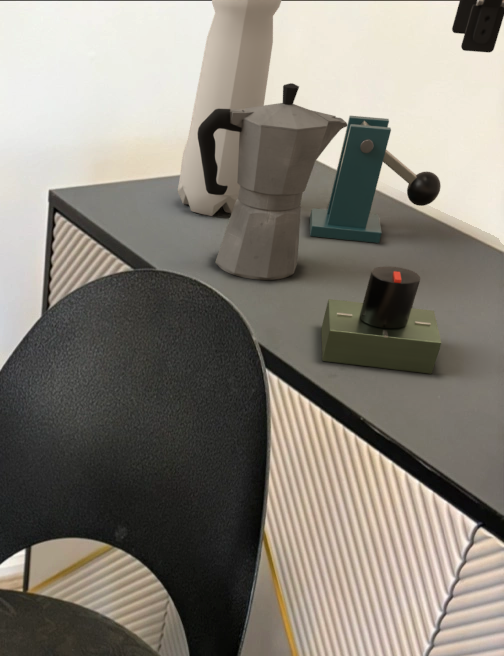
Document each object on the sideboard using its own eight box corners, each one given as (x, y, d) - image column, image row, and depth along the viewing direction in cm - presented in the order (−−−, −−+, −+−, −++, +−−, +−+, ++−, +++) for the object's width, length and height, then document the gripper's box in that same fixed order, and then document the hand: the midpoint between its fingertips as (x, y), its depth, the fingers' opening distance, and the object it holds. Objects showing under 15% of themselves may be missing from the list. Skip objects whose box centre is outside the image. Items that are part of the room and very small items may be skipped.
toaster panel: (424, 339, 109) (434, 307, 107) (431, 375, 103) (442, 342, 101) (321, 327, 111) (328, 296, 109) (322, 362, 105) (330, 329, 103)
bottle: (260, 217, 137) (318, -82, 117) (191, 220, 135) (238, -83, 115) (231, 194, 143) (281, -92, 123) (165, 197, 142) (205, -93, 122)
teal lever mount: (376, 224, 136) (404, 118, 128) (379, 243, 131) (408, 133, 123) (309, 218, 137) (333, 111, 129) (309, 236, 132) (334, 126, 124)
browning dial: (358, 308, 107) (371, 260, 104) (405, 313, 106) (419, 265, 103) (360, 325, 104) (373, 276, 101) (408, 331, 103) (423, 282, 100)
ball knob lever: (421, 206, 132) (446, 180, 130) (424, 216, 129) (448, 189, 127) (344, 141, 129) (367, 113, 127) (345, 150, 127) (369, 121, 124)
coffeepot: (302, 251, 128) (341, 74, 116) (326, 281, 121) (370, 96, 109) (169, 250, 127) (196, 71, 115) (186, 280, 120) (215, 93, 108)
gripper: (478, -168, 115) (428, 24, 126) (500, -158, 102) (442, 55, 113) (555, -165, 114) (497, 29, 125) (587, -154, 101) (519, 61, 112)
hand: (471, 41), depth 119 cm, fingers open, 9 cm apart
